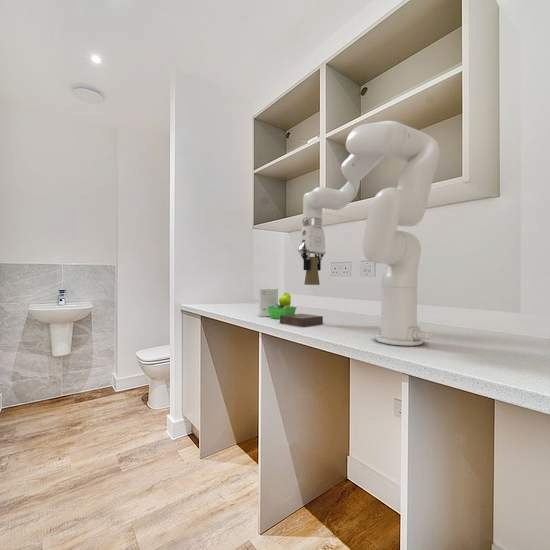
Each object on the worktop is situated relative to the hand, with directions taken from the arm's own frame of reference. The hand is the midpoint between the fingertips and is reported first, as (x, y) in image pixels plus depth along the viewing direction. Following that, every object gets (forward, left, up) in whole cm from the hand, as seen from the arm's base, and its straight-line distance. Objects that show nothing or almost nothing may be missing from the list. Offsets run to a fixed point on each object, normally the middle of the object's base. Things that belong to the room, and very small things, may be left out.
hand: (312, 269), depth 123 cm
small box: (+30, -3, -21) cm, 37 cm away
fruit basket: (+19, -2, -21) cm, 29 cm away
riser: (+3, +3, -21) cm, 22 cm away
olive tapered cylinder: (0, 0, -6) cm, 6 cm away
